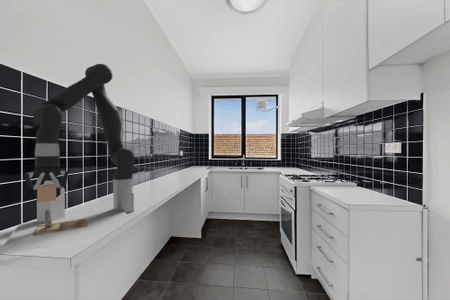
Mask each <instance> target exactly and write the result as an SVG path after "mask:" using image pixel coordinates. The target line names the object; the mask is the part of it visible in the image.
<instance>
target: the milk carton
mask: <svg viewBox="0 0 450 300" xmlns="http://www.w3.org/2000/svg"><path fill="white" fill-rule="evenodd" d="M43 182H44V183H42V185H46V184H55V183H54V182H53V180H52V181H43ZM65 194H66V191H65V186H62V187H61V194H60V196H58V197H57V199H56V201H48V202H38V203H37V202H36V219H37V220H36V222H42V223H45V211H46V210H47V209H50V210H51V223H53V222H55V221H59V220H61V219H64V218H66V204H65V203H66V199H65V197H66V195H65Z"/></svg>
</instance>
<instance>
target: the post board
mask: <svg viewBox="0 0 450 300" xmlns="http://www.w3.org/2000/svg"><path fill="white" fill-rule="evenodd" d="M86 227H88V221H87V218H80V219H76V220H75V219H74V220H68V221H61V222H55V223H52V222H51V210H50V209H47V210H46V211H45V222H44V224H43V225H37V226H36V228H35V230H34V232H33V234H32V237H35V236H39V235H40V236H41V235H46V234H51V233H58V232H64V231H69V230H76V229H81V228H86Z"/></svg>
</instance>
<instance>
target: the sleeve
mask: <svg viewBox="0 0 450 300" xmlns="http://www.w3.org/2000/svg"><path fill="white" fill-rule="evenodd" d="M56 188H57V187H56V185H55V184H46V185H43V184H40V185H39V186H38V187H37V199H36V204H37V203H38V202H48V201H56V199H57V197H56Z"/></svg>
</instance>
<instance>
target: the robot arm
mask: <svg viewBox="0 0 450 300" xmlns="http://www.w3.org/2000/svg"><path fill="white" fill-rule="evenodd" d="M84 75H85V77H83V78H81V79H80V80H78V81H77V82H75V83H73V84H71V85H69V86H67V87H66V88H64V89H62V90H61V91H60V92H58V93H57V94H56V95H55V96H53V97H52V98H50V99H48V100H46V101H44V102H42V103H41V104H38V105H37V106H36V107H35V108H34V109H33V111H32V116H33V117H32V118H33V119H34V120H35V121H36V122H38V123H40V127H39V128H38V129H37V130H36V133H35V148H34V149H35V150H34V170H33V171H31V172H25V173H24V174H23V176H24V180H25V185H26V188H27V189H31V190H33V198H34V199H35V200H37V187H38V186H39V185H41V183H42V182H44V181H52V180H53V182H54V183H55V185H56V187H57V188H56V197H58V196H60V194H61V187H65V186H66V184H67V181H68V176H69V171H68V170H61V169H60V154H61V153H60V146H59V145H60V144H59V142H60V140H59V138H60V137H59V133H60V131H61V127H62V122H63V112H66V111H69V110H71V109H72V108H74V106H76V105H77V104H78V103H80V102H81V101H82V100H83V99H85V97H87V96H88V95H89V94H91V93H92V97H93V99H94V100H93V101H94V102H95V106H96V109H97V112H98V113H97V114H98V116H99V120H100V123H101V126H102V129H103V132H104V136H105V139H106V143H107V147H108V153H109V158H110V161H111V163H112V164H114V165H115V166H116V171H115V172H114V174H113V175H112V178H113V184H112V185H113V186H112V187H113V188H112V189H113V211H115V212H124V213H127V214H128V213H131V212H134V211H135V201H134V200H135V199H134V198H135V197H134V196H135V195H134V194H135V193H134V192H133V191H134V190H133V183H134V182H133V175H134V173H135V172H134V171H135V154H134V152H133V150H132V149H130V148H126V147H124V145H123V143H122V136H121V133H122V126H123V125H122V119H121V115H120V111H119V109H118V108H117V105H115V104H114V102H113V101H112V100H111V99H110V97H109V96H108V93H107V91H106V87H105V84H108V83H110V82H111V80H112V79H113V71H112V70H111V68H110V67H109V65H106V64H104V63H98V64H94V65H91V66H88V67H87V68H86V69H85V72H84ZM60 174H61V175H62V177H63V180H62V182H61V183H60V181H59V179H58V176H59V175H60ZM33 175H34V176H35V177H36V178H37V180H36V182H35V184H33V183H32V180H31V178H33Z"/></svg>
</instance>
